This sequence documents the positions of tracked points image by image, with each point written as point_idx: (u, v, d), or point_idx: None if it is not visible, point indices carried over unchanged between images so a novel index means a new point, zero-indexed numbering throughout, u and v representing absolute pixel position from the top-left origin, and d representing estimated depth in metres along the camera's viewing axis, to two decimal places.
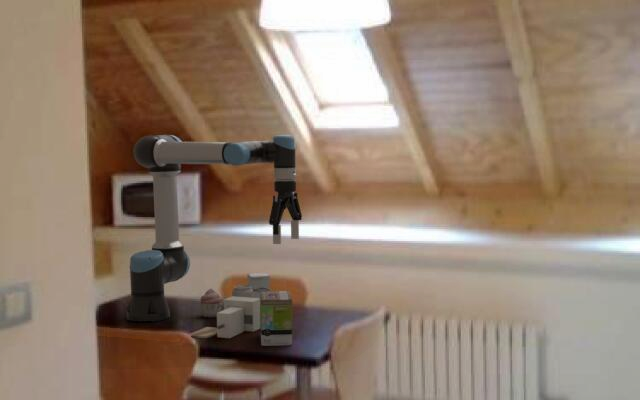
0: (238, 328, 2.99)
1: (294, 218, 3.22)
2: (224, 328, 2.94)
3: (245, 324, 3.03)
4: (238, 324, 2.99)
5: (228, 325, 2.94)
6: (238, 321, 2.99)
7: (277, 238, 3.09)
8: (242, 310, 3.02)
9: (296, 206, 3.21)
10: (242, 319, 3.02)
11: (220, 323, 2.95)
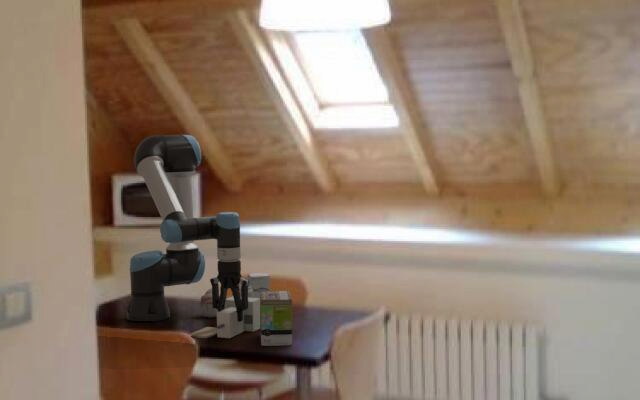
0: None
1: None
2: (224, 328, 2.94)
3: (245, 324, 3.03)
4: None
5: (228, 325, 2.94)
6: None
7: None
8: None
9: None
10: None
11: (220, 323, 2.95)
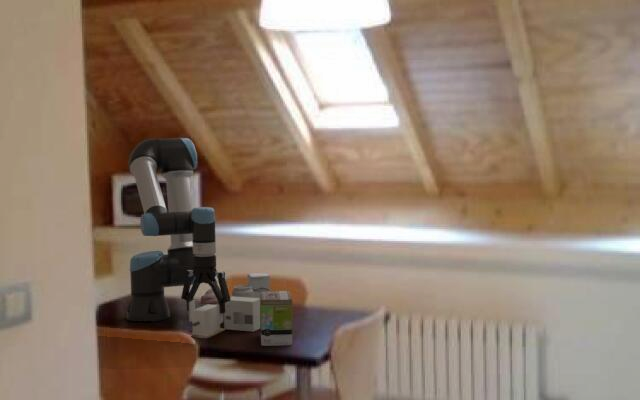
0: (213, 325, 3.01)
1: None
2: (199, 325, 2.96)
3: (245, 324, 3.03)
4: (214, 322, 3.01)
5: (203, 322, 2.95)
6: (213, 318, 3.00)
7: None
8: None
9: None
10: None
11: (195, 320, 2.96)
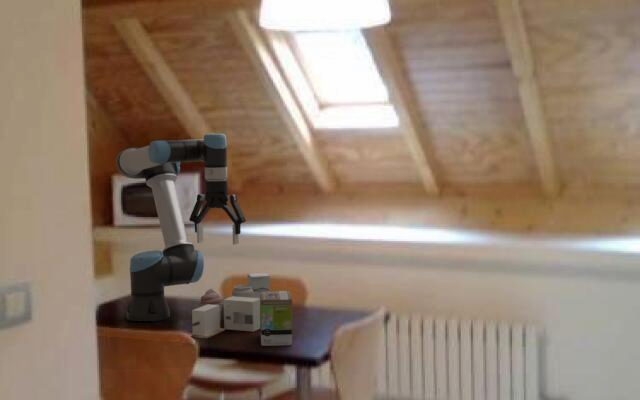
0: (213, 325, 3.01)
1: None
2: (199, 325, 2.96)
3: (245, 324, 3.03)
4: (214, 322, 3.01)
5: (203, 322, 2.95)
6: (213, 318, 3.00)
7: None
8: (218, 307, 3.03)
9: None
10: (218, 316, 3.03)
11: (195, 320, 2.96)
